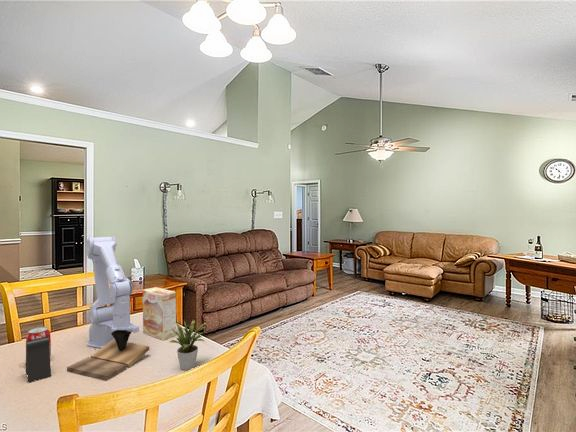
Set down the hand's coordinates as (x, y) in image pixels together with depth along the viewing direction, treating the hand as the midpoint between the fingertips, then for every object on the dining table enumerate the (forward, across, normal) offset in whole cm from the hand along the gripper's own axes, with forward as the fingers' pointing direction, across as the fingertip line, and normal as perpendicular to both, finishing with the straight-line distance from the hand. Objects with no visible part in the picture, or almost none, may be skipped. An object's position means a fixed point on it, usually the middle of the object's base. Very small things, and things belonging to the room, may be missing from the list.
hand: (122, 349), depth 122 cm
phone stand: (+3, -16, -19) cm, 25 cm away
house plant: (+3, +29, +2) cm, 29 cm away
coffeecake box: (+3, -3, +23) cm, 23 cm away
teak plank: (+2, 0, 0) cm, 2 cm away
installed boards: (+3, 0, -10) cm, 11 cm away
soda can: (+3, -25, -13) cm, 29 cm away
